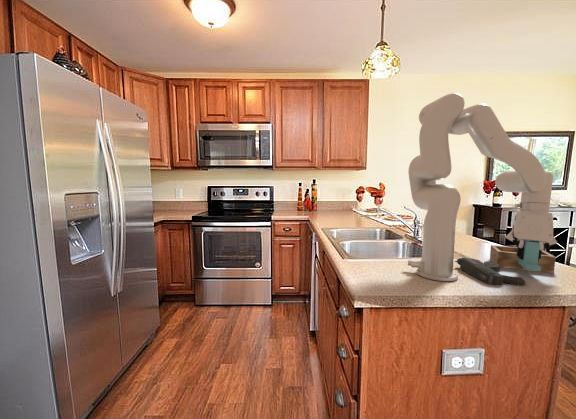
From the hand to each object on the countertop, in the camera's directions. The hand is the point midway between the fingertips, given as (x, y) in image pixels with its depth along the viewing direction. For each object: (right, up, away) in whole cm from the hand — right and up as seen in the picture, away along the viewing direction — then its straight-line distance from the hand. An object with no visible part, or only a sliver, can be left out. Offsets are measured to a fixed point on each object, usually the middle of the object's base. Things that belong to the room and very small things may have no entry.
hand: (528, 259), depth 95 cm
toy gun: (-15, -6, -1) cm, 16 cm away
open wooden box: (+6, -4, +10) cm, 13 cm away
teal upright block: (-1, -3, -1) cm, 3 cm away
